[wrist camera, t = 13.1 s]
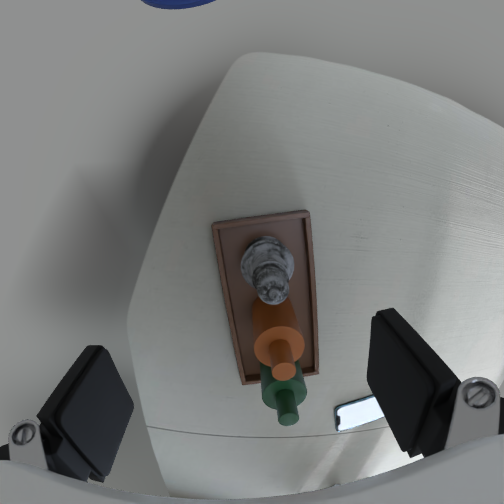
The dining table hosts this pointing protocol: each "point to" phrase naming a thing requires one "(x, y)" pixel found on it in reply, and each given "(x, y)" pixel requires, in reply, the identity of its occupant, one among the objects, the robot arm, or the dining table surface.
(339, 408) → the smartphone
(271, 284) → the salt shaker
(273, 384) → the dark green bottle
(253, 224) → the tray
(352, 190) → the dining table surface
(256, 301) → the amber bottle
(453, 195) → the dining table surface
